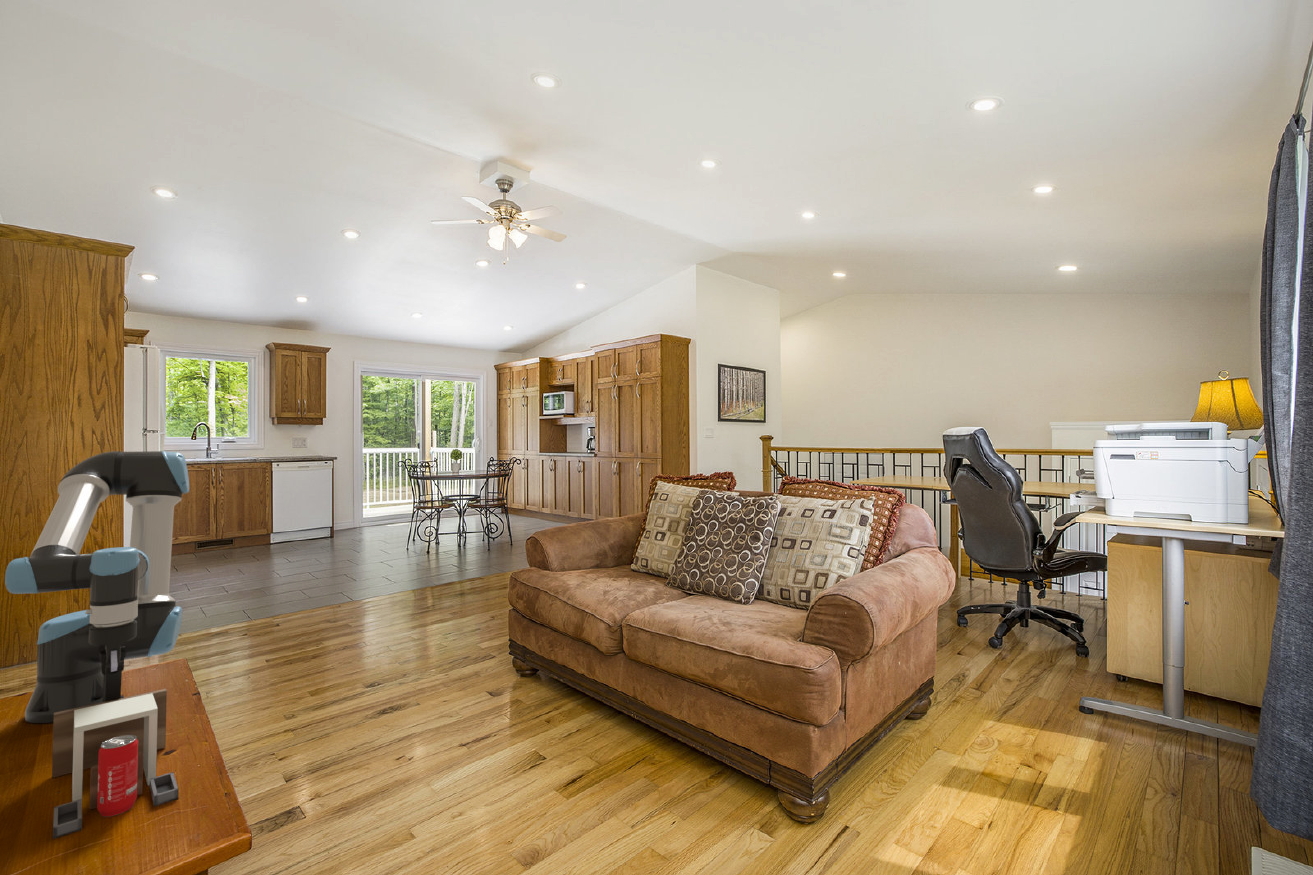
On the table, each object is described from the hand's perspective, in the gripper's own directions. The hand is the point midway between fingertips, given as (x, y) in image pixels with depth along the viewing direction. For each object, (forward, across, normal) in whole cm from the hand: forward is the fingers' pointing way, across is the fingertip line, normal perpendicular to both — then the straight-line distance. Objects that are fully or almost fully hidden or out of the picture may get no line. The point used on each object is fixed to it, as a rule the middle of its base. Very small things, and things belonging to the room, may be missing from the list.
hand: (110, 734), depth 124 cm
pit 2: (+4, +26, +6) cm, 28 cm away
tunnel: (+4, +16, 0) cm, 16 cm away
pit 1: (+4, +26, -6) cm, 28 cm away
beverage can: (+4, +27, 0) cm, 27 cm away
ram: (+4, +14, 0) cm, 15 cm away
